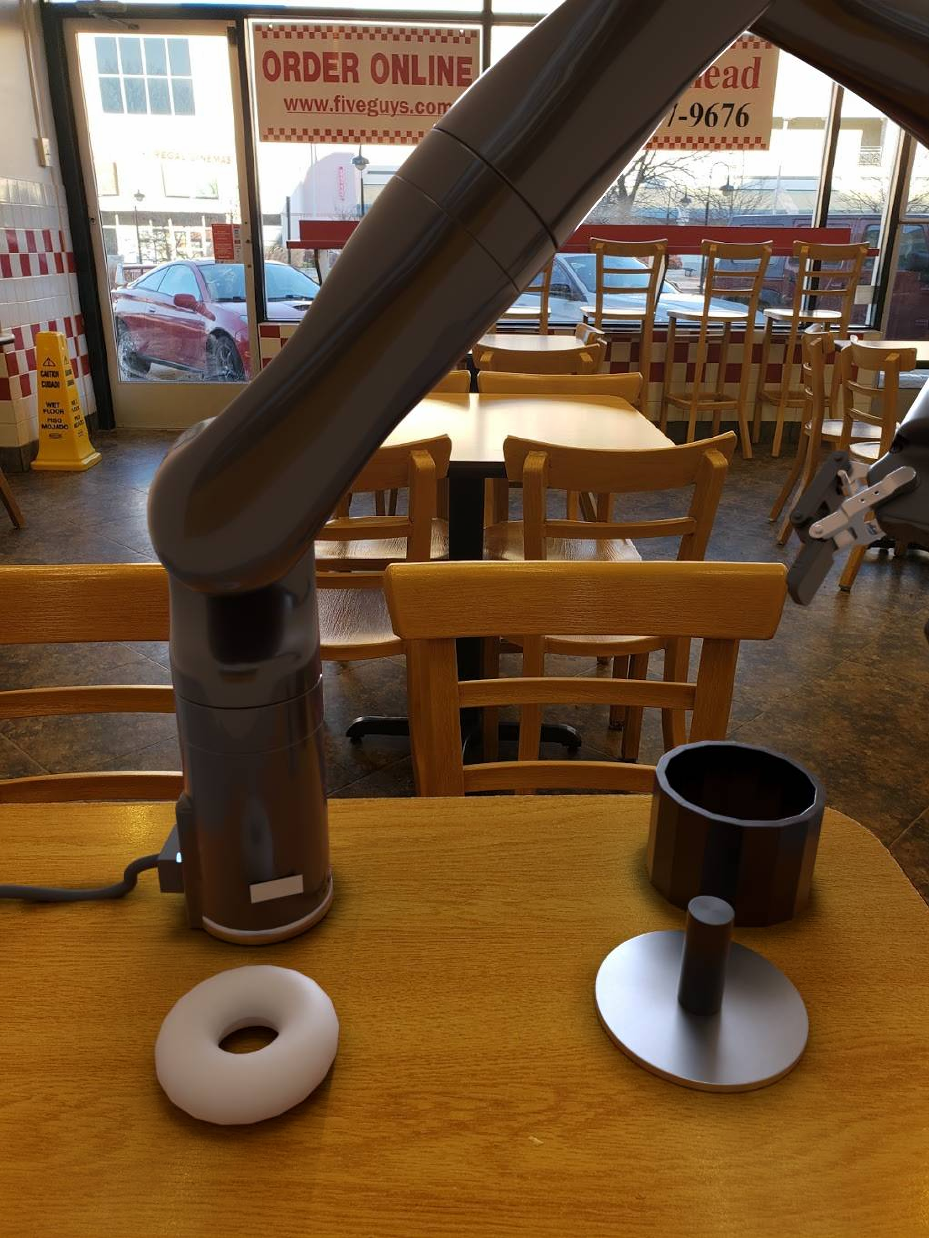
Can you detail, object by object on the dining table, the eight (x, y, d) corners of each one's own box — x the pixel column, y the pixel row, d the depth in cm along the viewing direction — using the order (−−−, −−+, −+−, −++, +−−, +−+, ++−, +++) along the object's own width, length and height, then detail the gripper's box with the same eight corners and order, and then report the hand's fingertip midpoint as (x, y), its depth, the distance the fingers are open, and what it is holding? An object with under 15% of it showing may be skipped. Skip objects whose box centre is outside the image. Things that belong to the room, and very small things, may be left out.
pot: (662, 932, 63) (674, 825, 60) (634, 835, 74) (643, 739, 71) (831, 935, 63) (852, 827, 60) (779, 837, 74) (794, 741, 71)
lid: (608, 1099, 51) (619, 987, 48) (582, 942, 62) (589, 844, 59) (838, 1103, 51) (862, 990, 48) (769, 945, 62) (785, 847, 59)
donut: (316, 1150, 48) (356, 1002, 57) (313, 1101, 46) (354, 957, 56) (127, 1132, 49) (196, 988, 58) (118, 1083, 47) (191, 944, 56)
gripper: (863, 352, 60) (736, 555, 58) (1113, 374, 50) (974, 622, 48) (889, 427, 66) (774, 616, 63) (1122, 460, 55) (996, 688, 53)
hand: (860, 619), depth 55 cm, fingers open, 8 cm apart
